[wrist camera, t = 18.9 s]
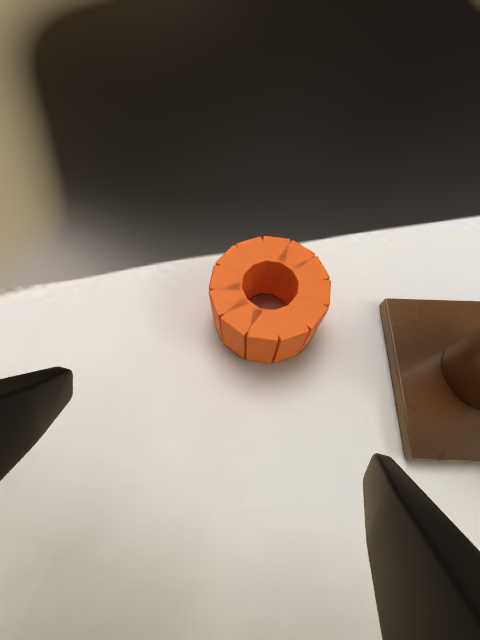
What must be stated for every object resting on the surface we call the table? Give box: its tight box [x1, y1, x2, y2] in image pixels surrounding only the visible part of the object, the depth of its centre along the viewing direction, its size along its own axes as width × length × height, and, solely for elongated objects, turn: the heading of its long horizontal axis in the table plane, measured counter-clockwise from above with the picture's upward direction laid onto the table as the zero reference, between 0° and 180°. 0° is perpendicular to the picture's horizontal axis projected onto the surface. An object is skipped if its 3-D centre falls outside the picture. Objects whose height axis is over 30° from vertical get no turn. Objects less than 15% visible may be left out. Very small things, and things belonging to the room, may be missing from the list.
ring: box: [209, 236, 331, 363], centre depth 20 cm, size 7×7×4 cm
